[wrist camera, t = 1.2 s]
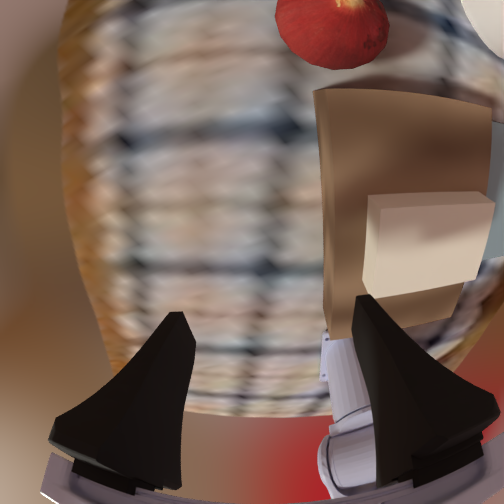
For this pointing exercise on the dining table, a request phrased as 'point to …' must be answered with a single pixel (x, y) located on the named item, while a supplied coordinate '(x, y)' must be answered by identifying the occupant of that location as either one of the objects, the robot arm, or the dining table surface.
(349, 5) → the onion
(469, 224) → the tan tilted rectangular prism
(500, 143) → the mat
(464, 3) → the base with upright slab
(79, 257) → the dining table surface
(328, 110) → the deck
